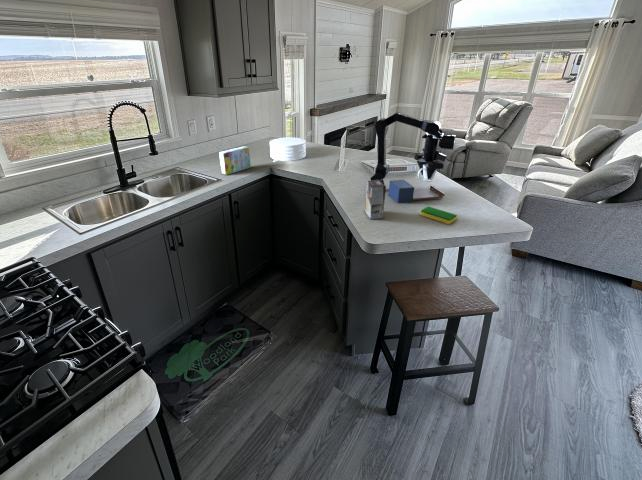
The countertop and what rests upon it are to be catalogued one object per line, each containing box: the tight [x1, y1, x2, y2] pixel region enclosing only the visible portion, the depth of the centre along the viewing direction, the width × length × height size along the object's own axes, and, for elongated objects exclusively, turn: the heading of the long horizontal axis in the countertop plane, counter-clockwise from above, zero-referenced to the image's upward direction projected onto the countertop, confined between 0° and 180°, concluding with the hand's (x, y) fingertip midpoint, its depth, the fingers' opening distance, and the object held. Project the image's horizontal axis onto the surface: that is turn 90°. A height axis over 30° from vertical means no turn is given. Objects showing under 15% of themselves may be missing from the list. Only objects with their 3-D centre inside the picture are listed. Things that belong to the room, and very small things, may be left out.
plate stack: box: [269, 136, 307, 162], centre depth 255 cm, size 28×28×12 cm
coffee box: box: [364, 179, 387, 220], centre depth 153 cm, size 9×6×16 cm
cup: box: [417, 164, 438, 183], centre depth 168 cm, size 7×10×8 cm
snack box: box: [218, 145, 252, 176], centre depth 223 cm, size 21×6×15 cm, turn 134°
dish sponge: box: [419, 205, 458, 225], centre depth 152 cm, size 7×14×2 cm, turn 41°
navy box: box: [388, 179, 446, 204], centre depth 173 cm, size 25×13×8 cm, turn 97°
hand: (425, 177), depth 169 cm, fingers closed on cup, 6 cm apart
